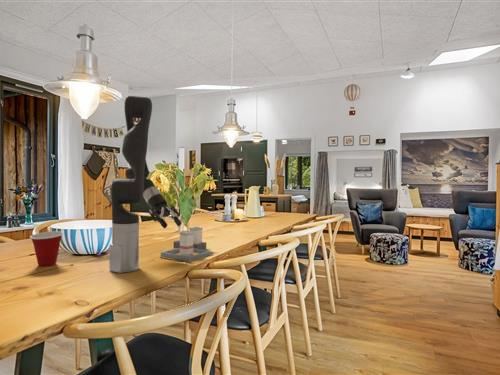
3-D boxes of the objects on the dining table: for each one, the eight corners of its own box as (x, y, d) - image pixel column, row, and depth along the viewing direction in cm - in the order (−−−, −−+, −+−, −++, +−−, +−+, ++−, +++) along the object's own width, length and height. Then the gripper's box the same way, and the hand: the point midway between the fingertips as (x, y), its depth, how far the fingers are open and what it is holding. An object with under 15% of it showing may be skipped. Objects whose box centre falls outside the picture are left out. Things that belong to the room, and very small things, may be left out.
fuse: (196, 250, 151) (196, 228, 150) (189, 249, 153) (189, 227, 152) (202, 249, 154) (202, 227, 154) (195, 247, 156) (195, 226, 156)
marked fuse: (186, 257, 138) (187, 233, 138) (179, 255, 141) (179, 232, 140) (193, 255, 142) (193, 232, 142) (185, 254, 144) (186, 231, 144)
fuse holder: (196, 253, 149) (196, 244, 149) (173, 249, 156) (173, 241, 156) (206, 250, 155) (206, 242, 155) (183, 247, 162) (183, 239, 162)
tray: (189, 263, 131) (190, 257, 131) (160, 258, 139) (160, 252, 139) (211, 256, 143) (211, 250, 143) (183, 252, 151) (183, 246, 151)
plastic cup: (22, 266, 123) (22, 234, 123) (48, 260, 133) (48, 230, 133) (44, 269, 119) (44, 236, 119) (69, 262, 130) (69, 232, 129)
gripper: (146, 193, 143) (165, 222, 137) (170, 192, 155) (188, 218, 150) (138, 205, 146) (156, 233, 140) (161, 203, 158) (179, 229, 153)
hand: (173, 225), depth 145 cm, fingers open, 8 cm apart
